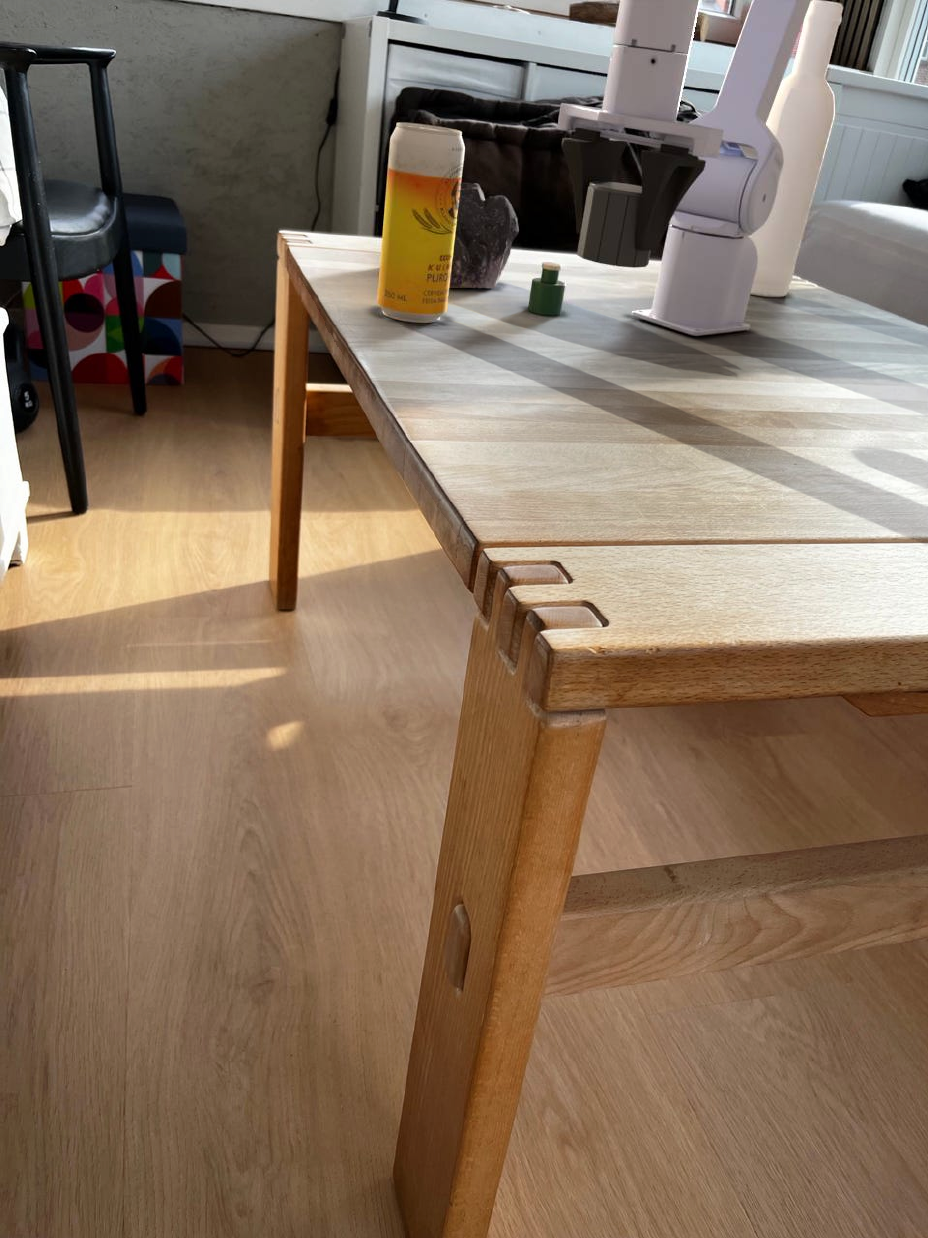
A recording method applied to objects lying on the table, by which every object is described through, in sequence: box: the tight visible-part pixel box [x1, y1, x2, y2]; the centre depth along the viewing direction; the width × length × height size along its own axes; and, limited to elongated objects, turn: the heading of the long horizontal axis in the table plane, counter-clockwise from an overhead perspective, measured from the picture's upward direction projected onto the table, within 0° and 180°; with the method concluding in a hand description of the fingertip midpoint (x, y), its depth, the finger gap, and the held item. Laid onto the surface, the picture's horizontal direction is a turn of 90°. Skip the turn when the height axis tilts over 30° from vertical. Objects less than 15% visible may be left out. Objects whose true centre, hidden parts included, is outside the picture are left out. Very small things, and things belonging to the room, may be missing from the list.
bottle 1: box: [527, 261, 567, 317], centre depth 97 cm, size 3×3×4 cm
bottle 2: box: [749, 0, 844, 298], centre depth 116 cm, size 8×8×30 cm
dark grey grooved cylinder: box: [576, 181, 652, 269], centre depth 82 cm, size 6×6×6 cm
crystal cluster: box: [449, 182, 520, 289], centre depth 104 cm, size 13×14×10 cm
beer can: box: [376, 122, 466, 324], centre depth 86 cm, size 6×6×15 cm
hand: (615, 241), depth 83 cm, fingers closed on dark grey grooved cylinder, 5 cm apart
